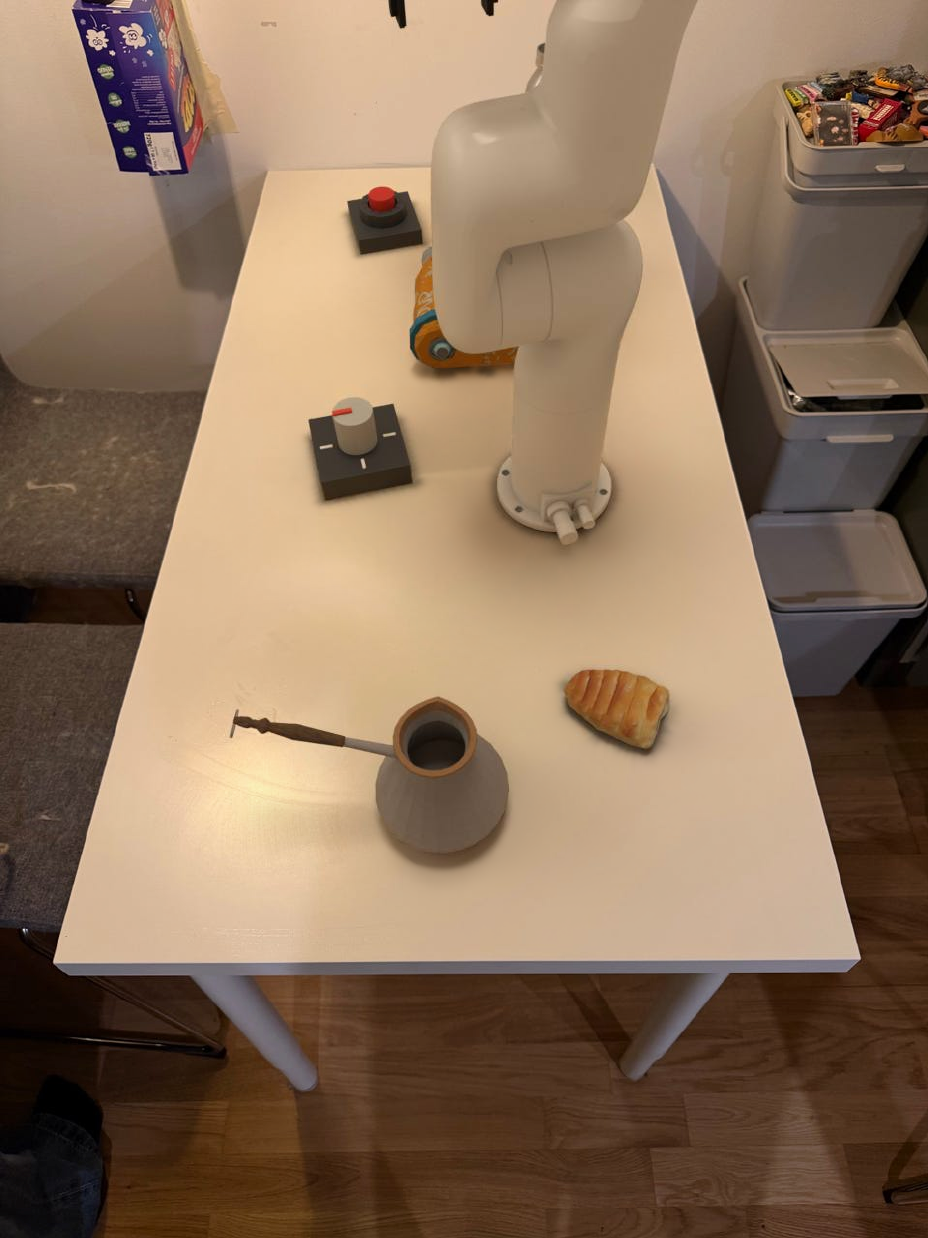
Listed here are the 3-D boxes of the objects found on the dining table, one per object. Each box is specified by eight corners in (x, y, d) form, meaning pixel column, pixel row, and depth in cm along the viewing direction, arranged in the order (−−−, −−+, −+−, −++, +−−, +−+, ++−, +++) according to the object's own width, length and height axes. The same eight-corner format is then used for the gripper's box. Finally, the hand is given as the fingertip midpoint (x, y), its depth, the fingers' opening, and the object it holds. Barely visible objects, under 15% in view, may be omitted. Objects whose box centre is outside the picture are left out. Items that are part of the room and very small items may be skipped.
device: (401, 213, 109) (630, 197, 109) (407, 270, 116) (622, 255, 116) (407, 326, 97) (665, 307, 97) (413, 382, 104) (654, 364, 104)
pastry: (553, 720, 78) (556, 701, 75) (577, 663, 81) (581, 642, 78) (651, 756, 76) (658, 738, 73) (672, 695, 79) (679, 675, 76)
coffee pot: (510, 741, 77) (513, 659, 64) (506, 866, 71) (509, 802, 58) (281, 733, 78) (239, 650, 66) (258, 855, 72) (207, 790, 59)
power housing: (422, 243, 119) (420, 217, 116) (360, 254, 118) (356, 227, 115) (409, 205, 124) (406, 178, 121) (349, 214, 124) (345, 188, 120)
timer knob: (373, 423, 96) (368, 391, 92) (380, 451, 93) (375, 419, 89) (335, 431, 95) (328, 398, 91) (341, 458, 93) (334, 426, 89)
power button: (397, 210, 118) (396, 198, 116) (372, 214, 117) (370, 202, 116) (392, 196, 119) (391, 184, 118) (367, 200, 119) (366, 188, 118)
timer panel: (412, 483, 95) (410, 463, 92) (325, 500, 94) (320, 481, 91) (395, 422, 100) (393, 402, 97) (312, 438, 99) (307, 418, 96)
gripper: (347, -175, 74) (371, 43, 88) (537, -196, 76) (530, 21, 90) (335, -200, 78) (360, 12, 92) (515, -220, 80) (512, -8, 94)
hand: (444, 16), depth 91 cm, fingers open, 9 cm apart
